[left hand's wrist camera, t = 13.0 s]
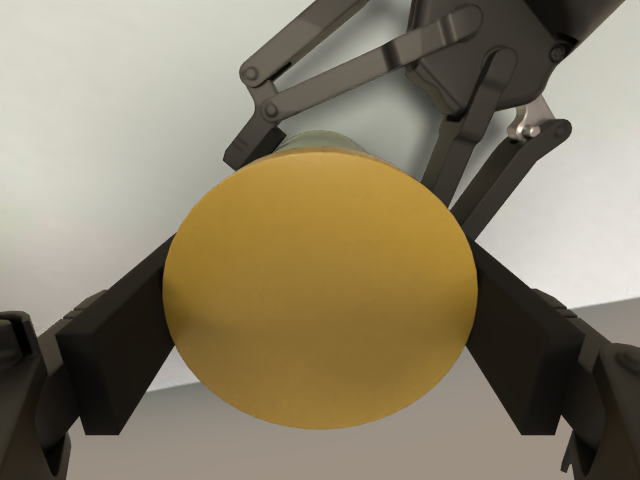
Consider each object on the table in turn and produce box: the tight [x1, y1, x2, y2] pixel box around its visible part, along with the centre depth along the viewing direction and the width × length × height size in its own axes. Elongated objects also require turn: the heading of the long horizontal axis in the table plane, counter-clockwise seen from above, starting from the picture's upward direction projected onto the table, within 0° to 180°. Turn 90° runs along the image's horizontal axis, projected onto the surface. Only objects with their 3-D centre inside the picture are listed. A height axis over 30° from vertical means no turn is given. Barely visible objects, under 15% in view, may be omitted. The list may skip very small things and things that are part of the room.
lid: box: [162, 146, 478, 429], centre depth 11 cm, size 9×9×2 cm
